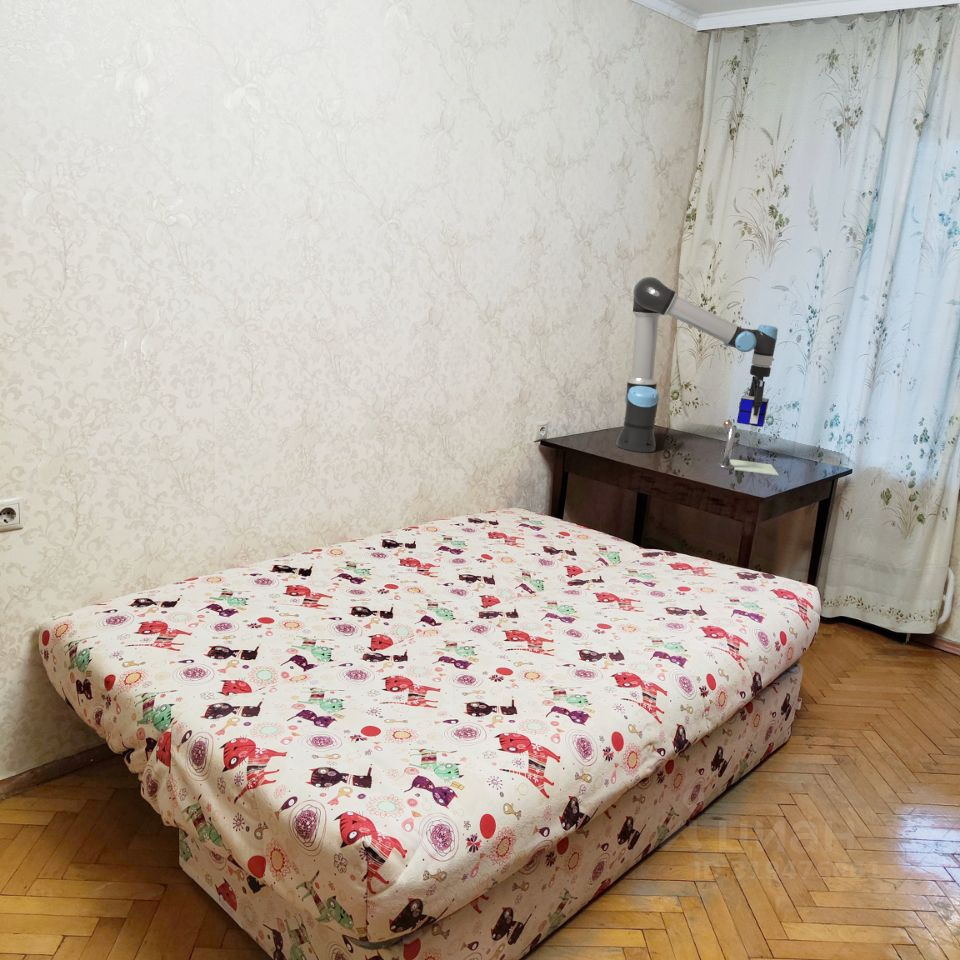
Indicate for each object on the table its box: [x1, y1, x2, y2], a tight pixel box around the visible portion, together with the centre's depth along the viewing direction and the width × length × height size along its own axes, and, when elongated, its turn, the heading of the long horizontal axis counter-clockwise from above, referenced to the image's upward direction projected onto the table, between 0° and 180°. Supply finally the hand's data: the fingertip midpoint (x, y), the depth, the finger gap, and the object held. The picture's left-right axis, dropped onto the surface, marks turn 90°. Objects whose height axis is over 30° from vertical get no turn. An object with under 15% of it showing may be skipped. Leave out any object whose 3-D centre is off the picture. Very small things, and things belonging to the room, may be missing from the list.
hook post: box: [716, 419, 737, 471], centre depth 335 cm, size 6×17×16 cm, turn 172°
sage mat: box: [729, 458, 779, 477], centre depth 336 cm, size 16×16×1 cm
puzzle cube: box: [736, 394, 770, 428], centre depth 352 cm, size 10×10×10 cm
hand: (750, 420), depth 353 cm, fingers closed on puzzle cube, 11 cm apart
